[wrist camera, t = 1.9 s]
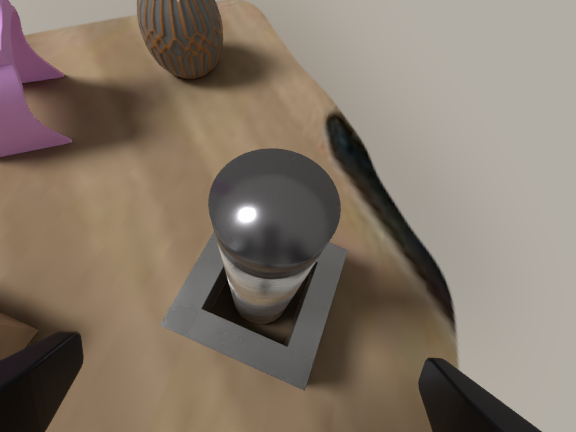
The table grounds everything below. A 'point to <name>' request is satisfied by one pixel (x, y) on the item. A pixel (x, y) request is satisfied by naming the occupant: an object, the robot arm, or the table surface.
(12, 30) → the toy chair
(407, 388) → the table surface
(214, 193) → the silver and grey cylinder
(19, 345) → the block
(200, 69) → the vase
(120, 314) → the table surface
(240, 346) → the socket block
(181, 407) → the table surface
